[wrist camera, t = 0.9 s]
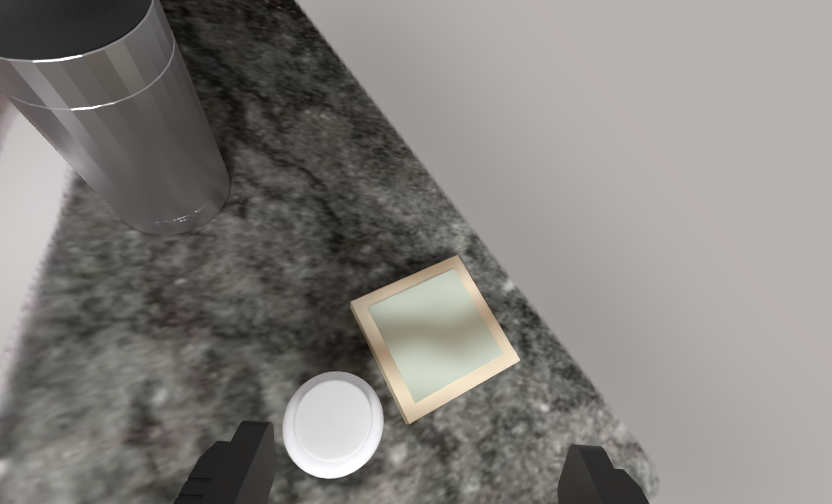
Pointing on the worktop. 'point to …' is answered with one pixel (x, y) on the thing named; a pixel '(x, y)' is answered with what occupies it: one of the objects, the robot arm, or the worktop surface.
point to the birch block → (432, 337)
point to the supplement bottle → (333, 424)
